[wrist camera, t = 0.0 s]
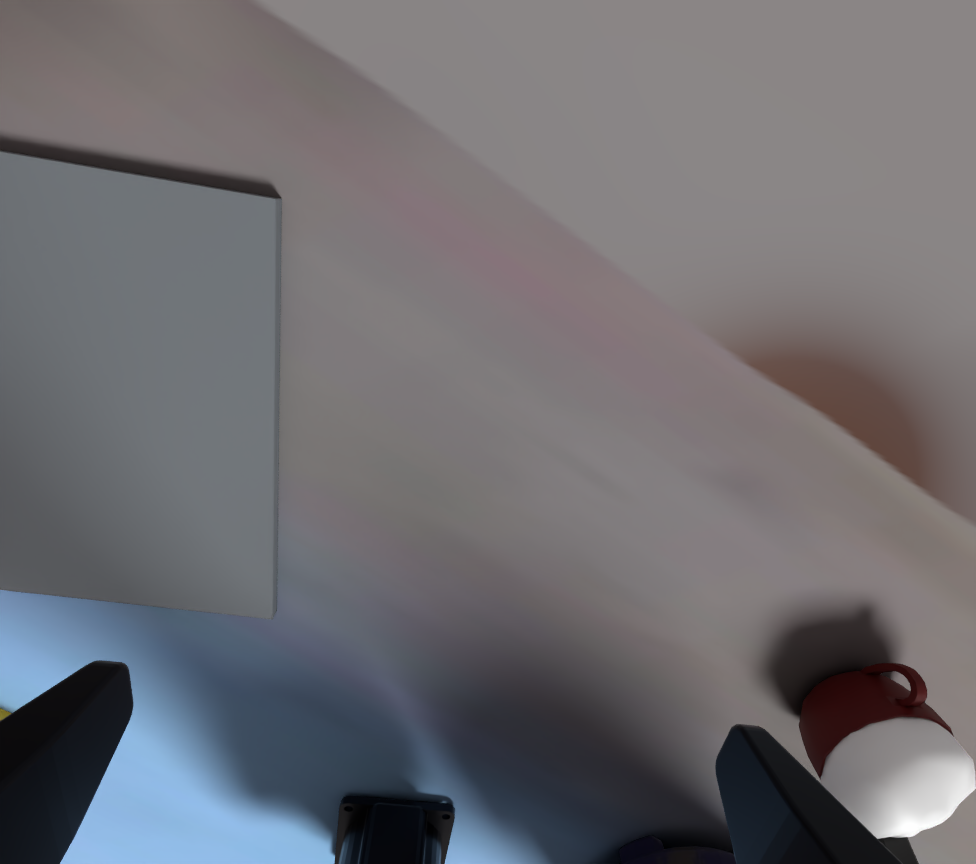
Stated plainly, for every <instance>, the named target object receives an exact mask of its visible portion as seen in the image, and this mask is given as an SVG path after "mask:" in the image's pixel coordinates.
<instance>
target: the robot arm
mask: <svg viewBox="0 0 976 864" xmlns="http://www.w3.org/2000/svg"><path fill="white" fill-rule="evenodd" d="M132 710H133V696H132V689H131V681H130V674H129V669H128V667H127V665H126V664H125V663H122V662H112V661H94V662H92V663H89V664H88V665H86V666H84V667H83V668H81V669H80V670H78V671H77V672H75V673H74V674H72V675H70V676H69V677H67V678H66V679H64V680H63V681H61V682H60V683H58V684H57V685H55V686H53V687H52V688H50V689H49V690H47V691H46V692H44V693H43V694H41V695H39V696H38V697H36V698H35V699H33V700H32V701H30V702H29V703H27V704H25V705H24V706H22V707H21V708H19V709H18V710H16V711H15V712H13V713H12V714H10V715H8V716H7V717H5V718H4V719H2V720H1V721H0V864H60V862H61V860H62V859H63V857H64V855H65V853H66V852H67V850H68V848H69V846H70V844H71V843H72V841H73V839H74V837H75V835H76V833H77V831H78V829H79V827H80V825H81V823H82V821H83V819H84V817H85V814H86V812H87V810H88V808H89V806H90V804H91V802H92V799H93V797H94V795H95V793H96V791H97V789H98V787H99V785H100V782H101V780H102V778H103V776H104V774H105V772H106V770H107V767H108V765H109V763H110V761H111V759H112V757H113V755H114V753H115V750H116V748H117V746H118V744H119V742H120V740H121V738H122V736H123V733H124V731H125V729H126V727H127V725H128V723H129V720H130V718H131V715H132ZM716 776H717V781H718V785H719V790H720V794H721V799H722V803H723V807H724V812H725V816H726V821H727V825H728V829H729V834H730V838H731V842H732V847H733V851H734V856H735V860H736V864H903V863H902V862H901V861H900V860H899V859H898V858H897V857H896V856H895V855H893V854H892V853H891V852H890V851H889V850H888V849H887V848H886V847H885V846H884V845H883V844H882V843H881V842H880V841H879V840H878V839H877V838H876V837H875V836H874V835H873V834H872V833H871V832H870V831H869V830H868V829H867V828H866V827H865V826H864V825H863V824H862V823H861V822H860V821H859V820H858V819H857V818H855V817H854V816H853V815H852V814H851V813H850V812H849V811H848V810H847V809H846V808H845V807H844V806H843V805H842V804H841V803H840V802H839V801H838V800H837V799H836V798H835V797H834V796H833V795H832V794H831V793H830V792H829V791H828V790H827V789H826V788H825V787H824V786H823V785H822V784H821V783H820V782H819V781H817V780H816V779H815V778H814V777H813V776H812V775H811V774H810V773H809V772H808V771H807V770H806V769H805V768H804V767H803V766H802V765H801V764H800V763H799V762H798V761H797V760H796V759H795V758H794V757H793V756H792V755H791V754H790V753H789V752H788V751H787V750H786V749H785V748H784V747H783V746H782V745H781V744H779V743H778V742H777V741H776V740H775V739H774V738H773V737H772V736H771V735H770V734H769V733H768V732H767V731H766V730H765V729H763V728H761V727H759V726H753V725H743V724H736V725H735V726H733V727H732V728H731V730H730V732H729V734H728V736H727V738H726V740H725V742H724V744H723V746H722V748H721V750H720V752H719V754H718V756H717V759H716ZM454 818H455V808H454V807H453V806H452V805H449V804H439V803H427V802H415V801H403V800H391V799H380V798H368V797H356V796H346V797H344V798H342V800H341V803H340V808H339V818H338V830H337V842H336V853H335V864H444V863H445V859H446V854H447V850H448V845H449V841H450V836H451V832H452V827H453V823H454Z"/></svg>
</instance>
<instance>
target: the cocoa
mask: <svg viewBox="0 0 976 864" xmlns="http://www.w3.org/2000/svg"><path fill="white" fill-rule="evenodd" d="M891 671H896V672H899V673H901V674H903V675H904V676H905V677H906V678H907V680H908V681H909V683H910V686H911V692H910V691H909V690H907V689H906V688H904V687H903V686H902V685H900V684H898V683H896V682H895V681H893V680H891V679H889V678H888V677H886V676H883V675H880V674H881V673H883V672H891ZM926 698H927V689H926V685H925V682H924V681H923V679H922V678H921V676H920V675H919V674H918V673H917V672H916V671H915V670H914V669H912V668H910V667H908V666H906V665H903V664H896V663H881V664H875V665H871V666H867V667H865V668H863V669H862V670H861V671H852V672H847V673H843V674H838V675H834V676H831V677H829V678H827V679H826V680H824V681H822V682H821V683H819V684H817V686H815V687H814V688H813V690H812V691H811V692H810V693H809V694H808V696H807V697H806V698H805V699H804V701H803V706H802V711H801V716H800V722H799V728H800V732H801V736H802V740H803V743H804V746H805V749H806V752H807V755H808V757H809V759H810V761H811V763H812V765H813V767H814V769H815V770H816V772H817V774H818V776H819V778H820V780H821V784H822V785H823V786H824V787H825V788H826V789H827V790H828V791H829V792H830V793H831V794H832V795H833V796H834V797H835V798H836V799H837V800H838V801H839V802H840V803H841V804H842V805H843V806H844V807H845V808H846V809H847V810H848V811H849V812H850V813H851V814H852V815H853V816H854V817H855V818H857V819H858V820H859V821H860V822H861V823H862V824H863V825H864V826H865V827H866V828H867V829H868V830H869V831H870V832H871V833H872V834H873V835H874V836H875V837H876V838H877V839H878V840H879V841H880V842H881V843H882V844H883V845H884V846H885V847H886V848H887V849H888V850H889V851H890V852H891V853H892V854H893V855H895V856H896V857H897V858H898V859H899V860H900V861H901V862H902V863H903V864H919V863H918V861H917V859H916V856H915V854H914V852H913V849H912V847H911V845H910V842H909V840H908V838H907V837H911V836H914V835H916V834H917V833H919V832H920V831H921V830H925V829H929V828H932V827H934V826H936V825H938V824H941V823H942V822H944V821H945V820H946V819H947V818H949V817H950V816H951V815H952V813H953V812H954V810H955V809H956V808H957V806H958V805H959V804H960V803H961V802H962V801H963V800H964V799H965V798H966V797H967V796H968V795H969V794H970V793H971V792H972V791H973V790H975V769H974V762H973V760H972V758H971V757H970V756H969V754H968V753H967V752H966V751H965V750H964V748H963V747H962V746H961V745H960V743H959V742H958V741H957V740H956V739H955V738H954V736H953V733H952V731H951V728H950V727H949V726H948V725H947V724H946V723H945V722H944V721H943V720H942V719H941V717H940V716H939V715H938V714H937V713H936V712H935V711H934V710H933V709H932V708H931V707H929V706H928V705H927V704H926V703H925V700H926Z"/></svg>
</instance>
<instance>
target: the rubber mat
mask: <svg viewBox="0 0 976 864" xmlns="http://www.w3.org/2000/svg"><path fill="white" fill-rule="evenodd" d="M281 215H282V199H281V198H275V197H269V196H263V195H257V194H252V193H246V192H240V191H234V190H228V189H223V188H217V187H211V186H205V185H199V184H193V183H188V182H182V181H176V180H170V179H164V178H159V177H153V176H147V175H141V174H135V173H129V172H124V171H118V170H112V169H106V168H100V167H95V166H89V165H83V164H77V163H71V162H65V161H60V160H54V159H48V158H42V157H36V156H30V155H25V154H19V153H13V152H7V151H1V150H0V590H7V591H16V592H26V593H35V594H44V595H53V596H62V597H72V598H81V599H90V600H99V601H108V602H117V603H127V604H136V605H145V606H154V607H163V608H173V609H182V610H191V611H200V612H209V613H218V614H228V615H237V616H246V617H255V618H264V619H273V617H274V615H275V613H276V611H277V551H278V467H279V383H280V299H281Z"/></svg>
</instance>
